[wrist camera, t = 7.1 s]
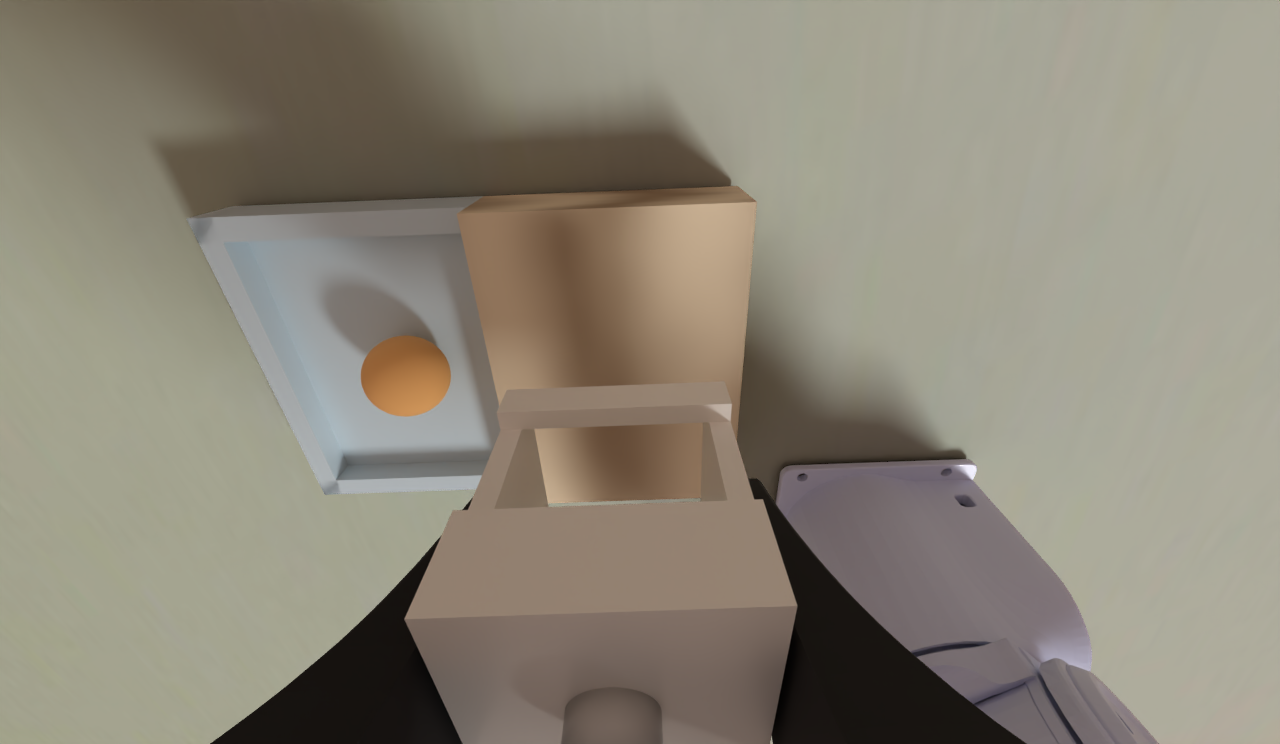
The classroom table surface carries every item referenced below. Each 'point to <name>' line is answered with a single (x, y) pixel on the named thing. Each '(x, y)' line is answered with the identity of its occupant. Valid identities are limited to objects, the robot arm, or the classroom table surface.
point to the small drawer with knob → (607, 592)
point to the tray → (360, 332)
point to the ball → (405, 376)
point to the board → (614, 318)
